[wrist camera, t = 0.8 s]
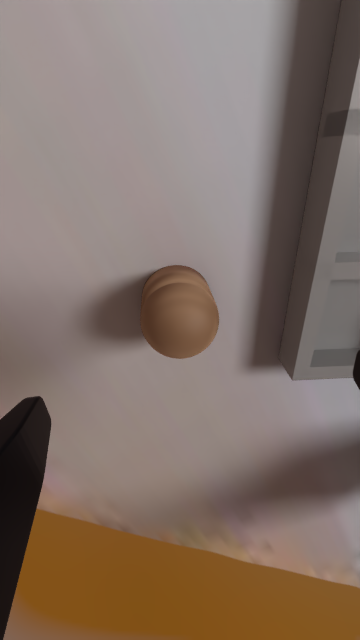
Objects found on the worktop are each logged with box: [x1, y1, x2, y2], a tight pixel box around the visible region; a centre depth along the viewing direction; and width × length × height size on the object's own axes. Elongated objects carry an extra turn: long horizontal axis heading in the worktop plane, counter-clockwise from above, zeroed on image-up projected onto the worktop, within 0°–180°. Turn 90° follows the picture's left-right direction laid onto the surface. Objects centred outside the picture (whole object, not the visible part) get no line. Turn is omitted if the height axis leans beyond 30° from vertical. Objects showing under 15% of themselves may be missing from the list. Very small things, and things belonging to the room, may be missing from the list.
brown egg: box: [140, 265, 219, 359], centre depth 18 cm, size 4×4×5 cm
